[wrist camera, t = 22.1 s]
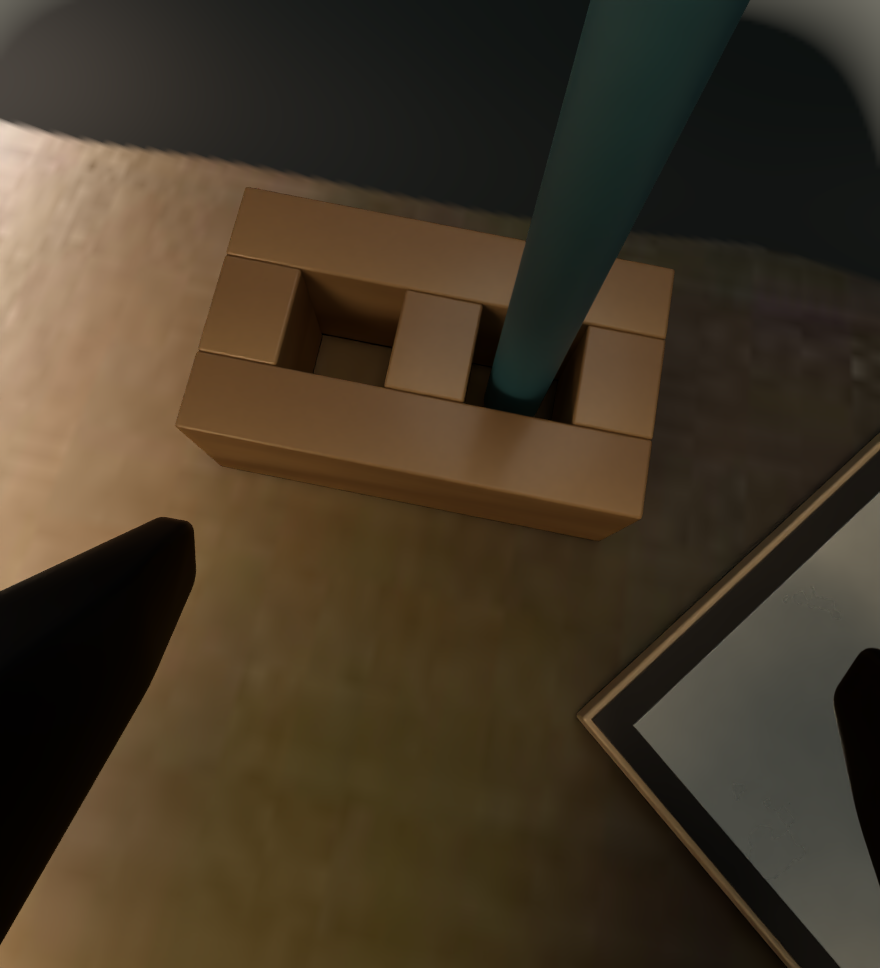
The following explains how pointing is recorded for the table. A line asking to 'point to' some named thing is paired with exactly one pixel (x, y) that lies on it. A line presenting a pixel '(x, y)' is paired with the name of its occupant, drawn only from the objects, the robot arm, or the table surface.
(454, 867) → the table surface
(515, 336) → the stylus
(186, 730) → the table surface
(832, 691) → the tablet
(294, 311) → the block
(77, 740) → the robot arm
